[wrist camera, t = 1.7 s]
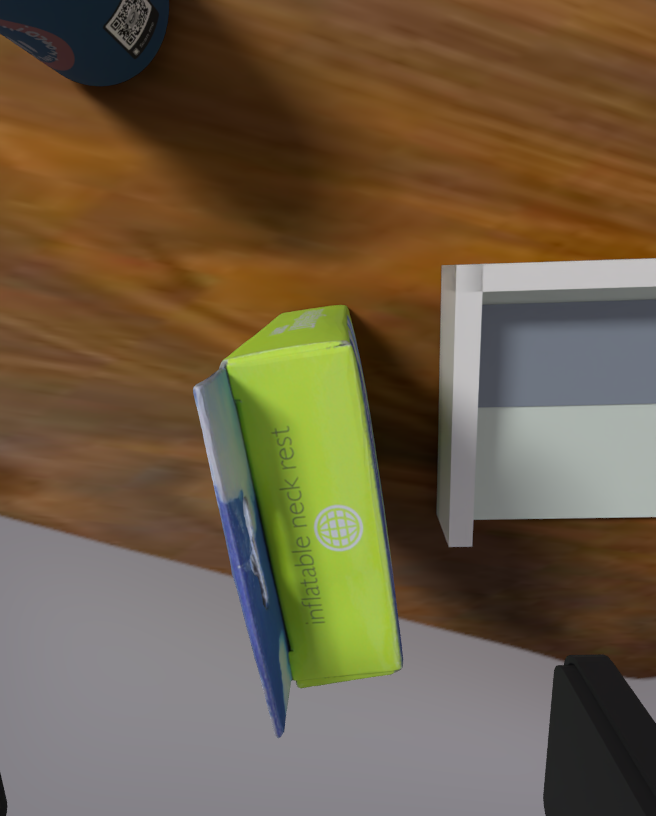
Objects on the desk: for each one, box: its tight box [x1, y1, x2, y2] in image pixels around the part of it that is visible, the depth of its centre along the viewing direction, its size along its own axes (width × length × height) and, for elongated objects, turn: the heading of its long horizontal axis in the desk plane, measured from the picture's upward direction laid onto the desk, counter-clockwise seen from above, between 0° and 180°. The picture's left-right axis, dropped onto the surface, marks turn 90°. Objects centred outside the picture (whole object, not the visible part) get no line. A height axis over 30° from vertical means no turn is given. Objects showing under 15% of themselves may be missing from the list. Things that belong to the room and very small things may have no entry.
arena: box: [437, 258, 656, 547], centre depth 27 cm, size 18×14×4 cm
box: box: [193, 305, 403, 738], centre depth 21 cm, size 10×4×17 cm, turn 10°
